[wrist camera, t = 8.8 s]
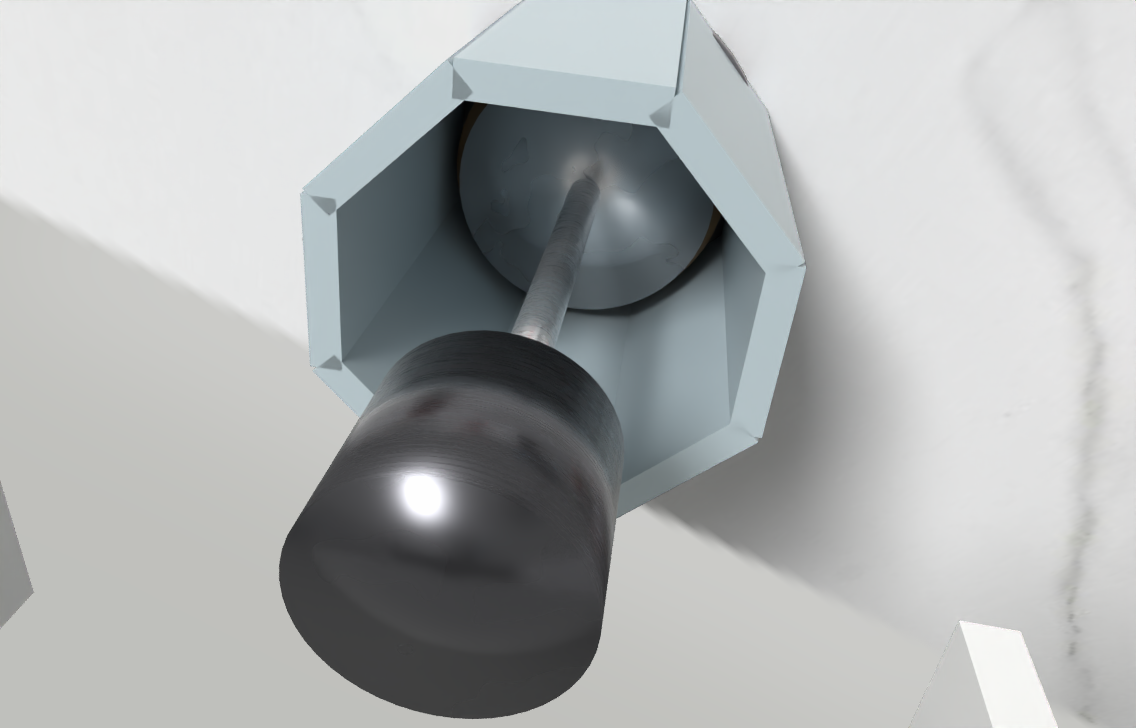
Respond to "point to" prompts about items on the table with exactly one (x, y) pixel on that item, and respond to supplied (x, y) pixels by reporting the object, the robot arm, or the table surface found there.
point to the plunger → (496, 438)
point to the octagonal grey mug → (491, 302)
